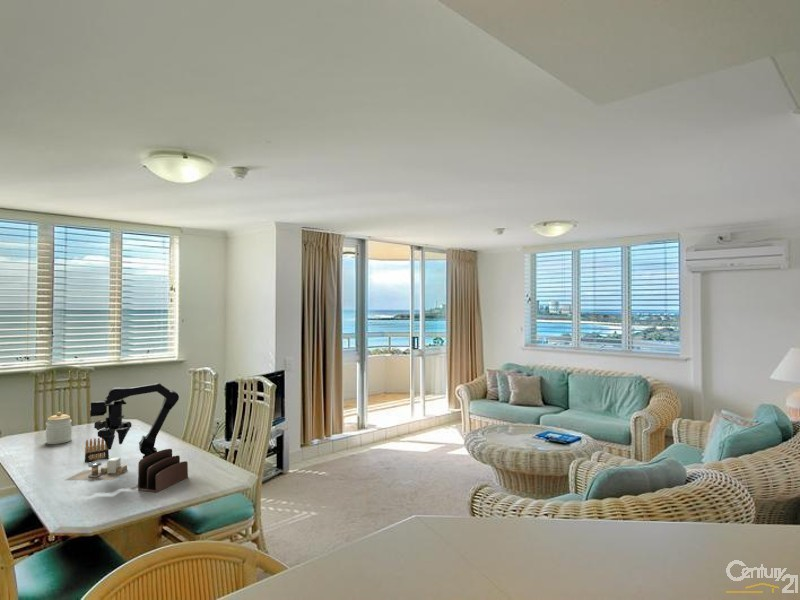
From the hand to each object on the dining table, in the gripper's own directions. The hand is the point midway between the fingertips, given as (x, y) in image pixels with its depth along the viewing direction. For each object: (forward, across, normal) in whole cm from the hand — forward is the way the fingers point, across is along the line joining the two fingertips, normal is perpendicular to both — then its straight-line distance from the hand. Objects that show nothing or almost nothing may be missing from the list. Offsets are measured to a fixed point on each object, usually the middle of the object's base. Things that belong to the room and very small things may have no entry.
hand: (115, 446), depth 237 cm
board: (+13, +6, -5) cm, 15 cm away
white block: (+11, +2, +1) cm, 11 cm away
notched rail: (+11, +2, +1) cm, 11 cm away
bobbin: (+11, +8, -5) cm, 14 cm away
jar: (+13, -58, -67) cm, 90 cm away
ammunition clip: (+13, -20, -21) cm, 32 cm away
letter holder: (+13, +14, +30) cm, 36 cm away
